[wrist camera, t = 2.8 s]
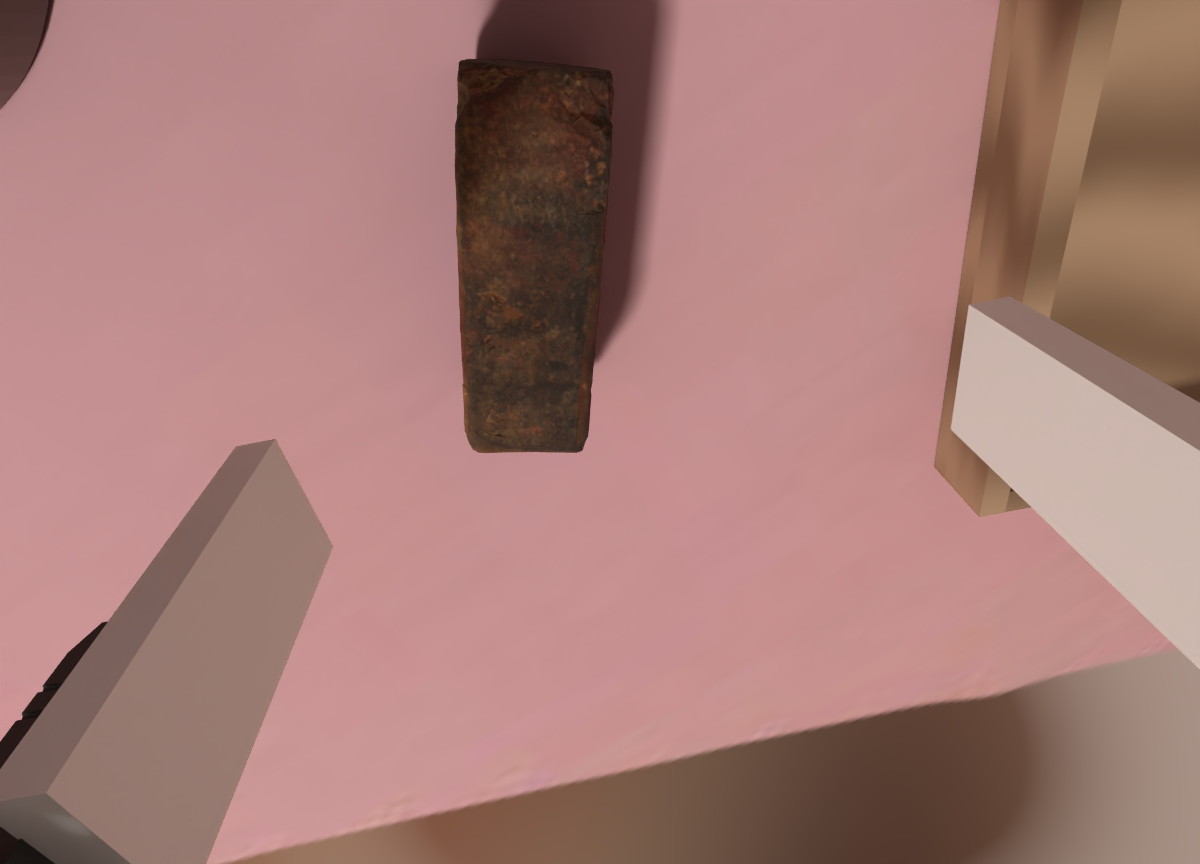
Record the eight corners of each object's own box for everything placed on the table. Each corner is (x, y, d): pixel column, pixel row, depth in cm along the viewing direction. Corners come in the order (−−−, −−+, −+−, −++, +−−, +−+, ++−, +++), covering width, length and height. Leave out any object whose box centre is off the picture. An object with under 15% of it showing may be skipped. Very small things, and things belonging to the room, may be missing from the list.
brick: (581, 389, 24) (591, 459, 20) (474, 386, 24) (462, 457, 20) (605, 65, 19) (625, 75, 15) (465, 53, 18) (447, 59, 14)
